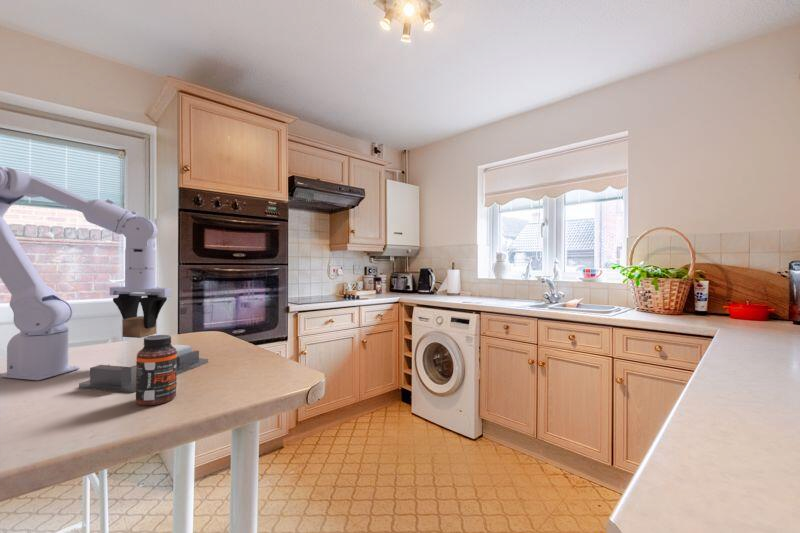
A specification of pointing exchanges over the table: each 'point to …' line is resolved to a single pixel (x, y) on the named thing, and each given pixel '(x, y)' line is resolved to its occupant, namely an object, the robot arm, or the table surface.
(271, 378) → the table surface
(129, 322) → the block
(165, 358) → the supplement bottle
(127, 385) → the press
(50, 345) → the robot arm
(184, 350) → the ram
